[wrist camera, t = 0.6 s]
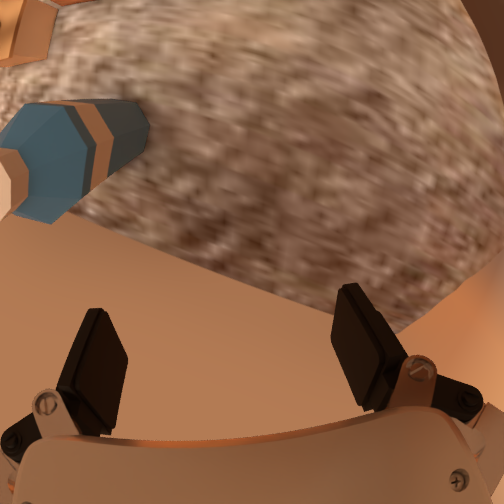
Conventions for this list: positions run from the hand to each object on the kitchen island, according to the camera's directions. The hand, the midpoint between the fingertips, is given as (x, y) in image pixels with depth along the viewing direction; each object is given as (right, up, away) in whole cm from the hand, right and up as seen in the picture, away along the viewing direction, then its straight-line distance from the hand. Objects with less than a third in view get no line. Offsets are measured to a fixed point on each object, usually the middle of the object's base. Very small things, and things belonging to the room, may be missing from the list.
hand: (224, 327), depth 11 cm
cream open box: (-30, +33, +11) cm, 46 cm away
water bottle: (-16, +18, +21) cm, 33 cm away
